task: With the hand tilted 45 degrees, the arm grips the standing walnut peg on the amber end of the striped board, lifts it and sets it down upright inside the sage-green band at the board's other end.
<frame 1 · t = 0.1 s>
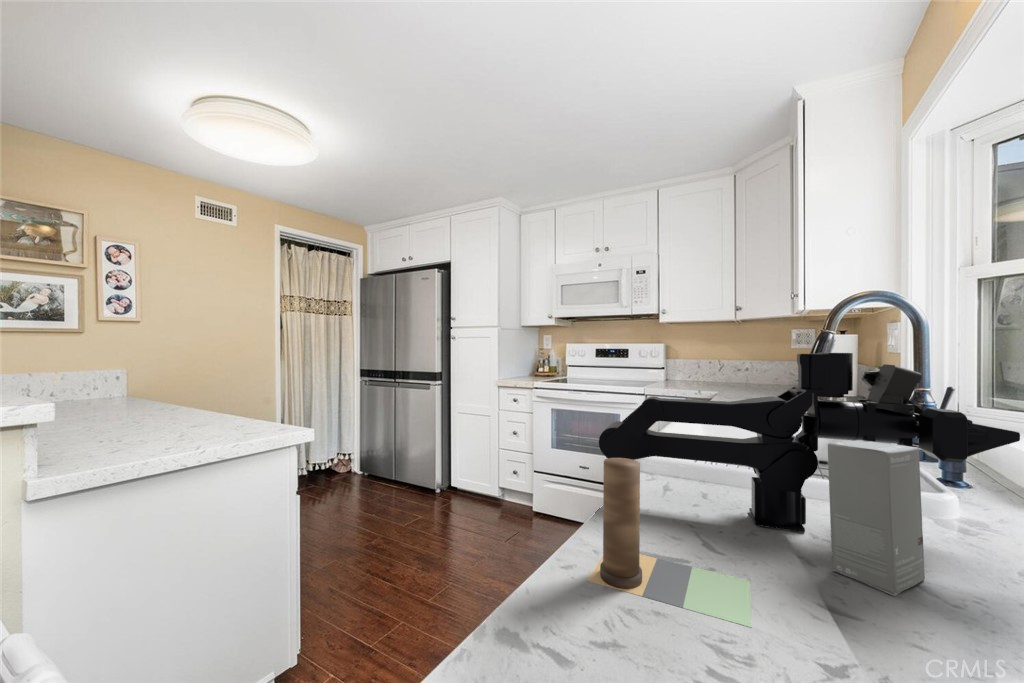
hand: (993, 429, 57), 17 cm above the counter, tool horizontal, fingers open, 9 cm apart
walnut peg: (620, 577, 48), point 1 cm above the counter, touching striped board
striped board: (668, 591, 47), on the counter
skincare box: (874, 575, 51), on the counter
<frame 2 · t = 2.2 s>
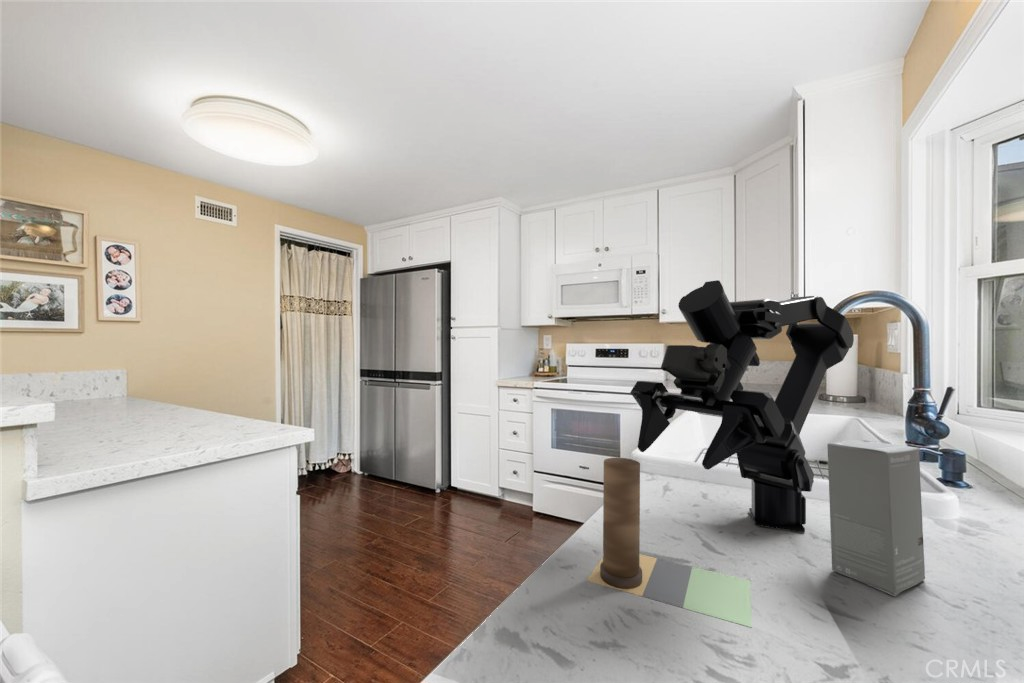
hand: (670, 457, 52), 14 cm above the counter, tool tilted 45°, fingers open, 9 cm apart
nothing on the counter moved.
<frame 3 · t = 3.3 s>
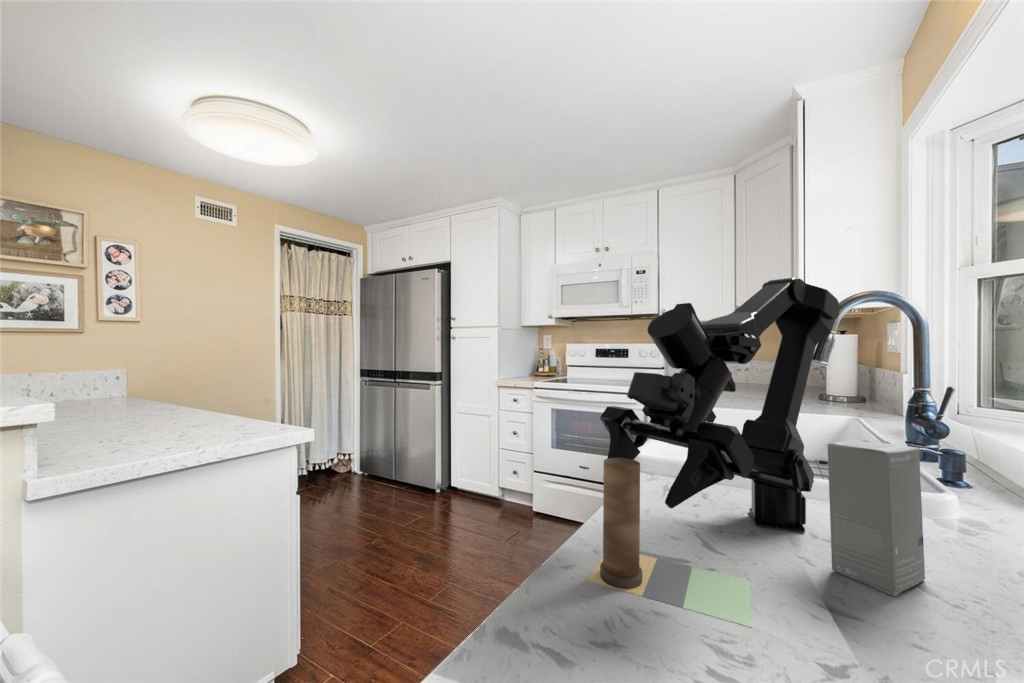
hand: (634, 492, 49), 10 cm above the counter, tool tilted 45°, fingers open, 9 cm apart
nothing on the counter moved.
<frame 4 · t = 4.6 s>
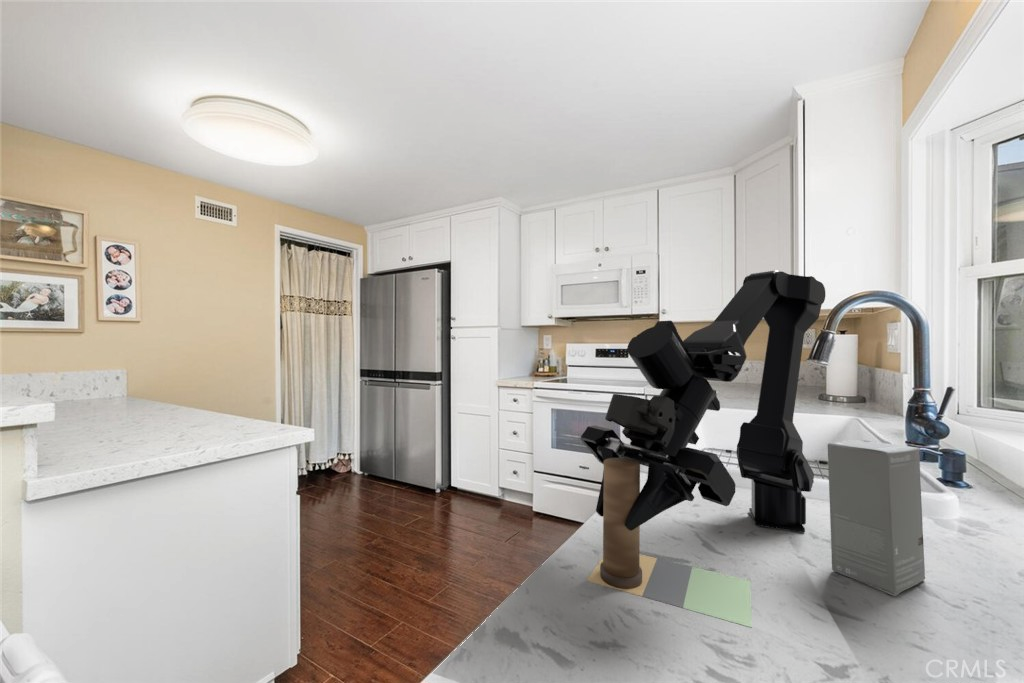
hand: (612, 520, 47), 8 cm above the counter, tool tilted 45°, fingers closed on walnut peg, 4 cm apart
walnut peg: (620, 577, 48), point 1 cm above the counter, touching gripper, striped board
everything else where it was.
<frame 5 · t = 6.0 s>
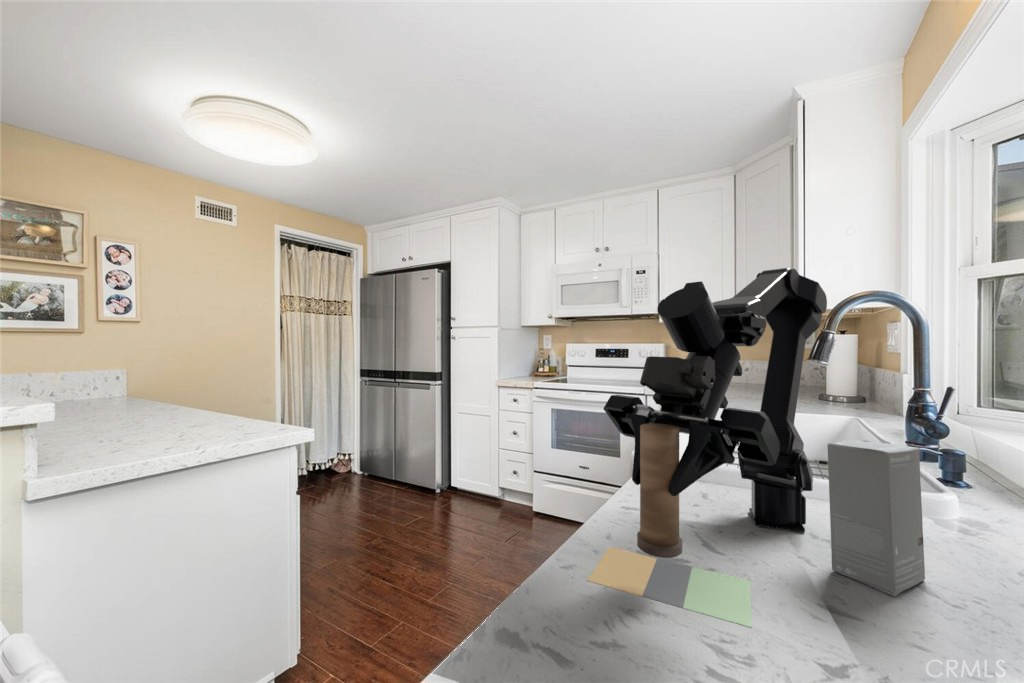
hand: (652, 488, 45), 12 cm above the counter, tool tilted 45°, fingers closed on walnut peg, 4 cm apart
walnut peg: (659, 546, 46), point 6 cm above the counter, touching gripper
everything else where it was.
when the fingers open (8 cm above the counter, at t = 7.5 s): walnut peg stays where it is, resting on striped board.
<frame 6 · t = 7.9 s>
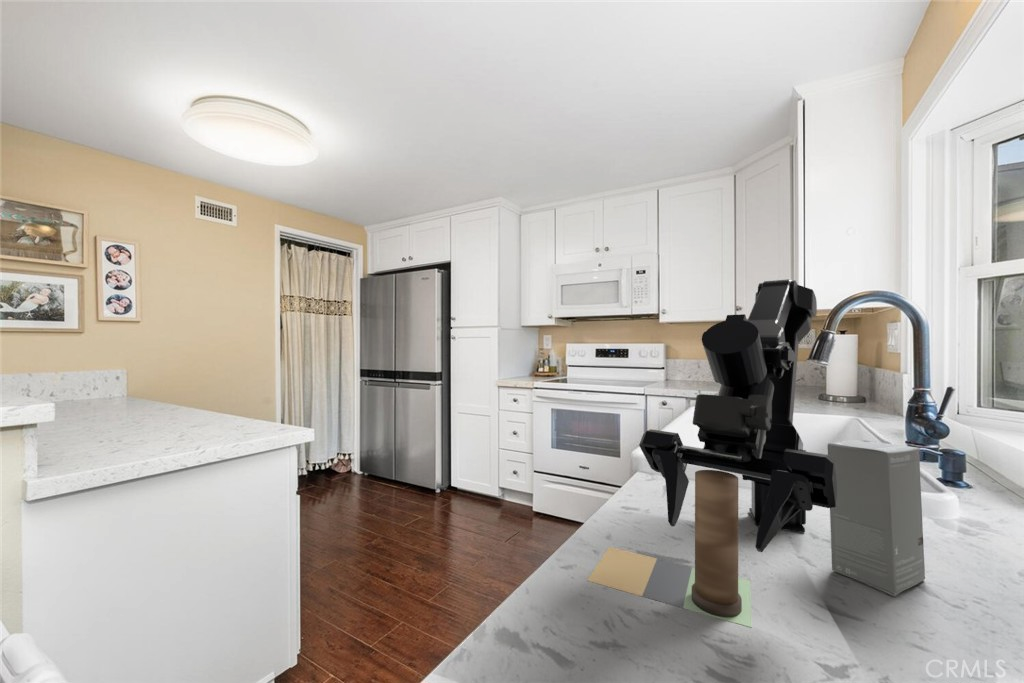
hand: (712, 536, 42), 8 cm above the counter, tool tilted 45°, fingers open, 8 cm apart
walnut peg: (716, 602, 43), point 1 cm above the counter, touching striped board
everything else where it was.
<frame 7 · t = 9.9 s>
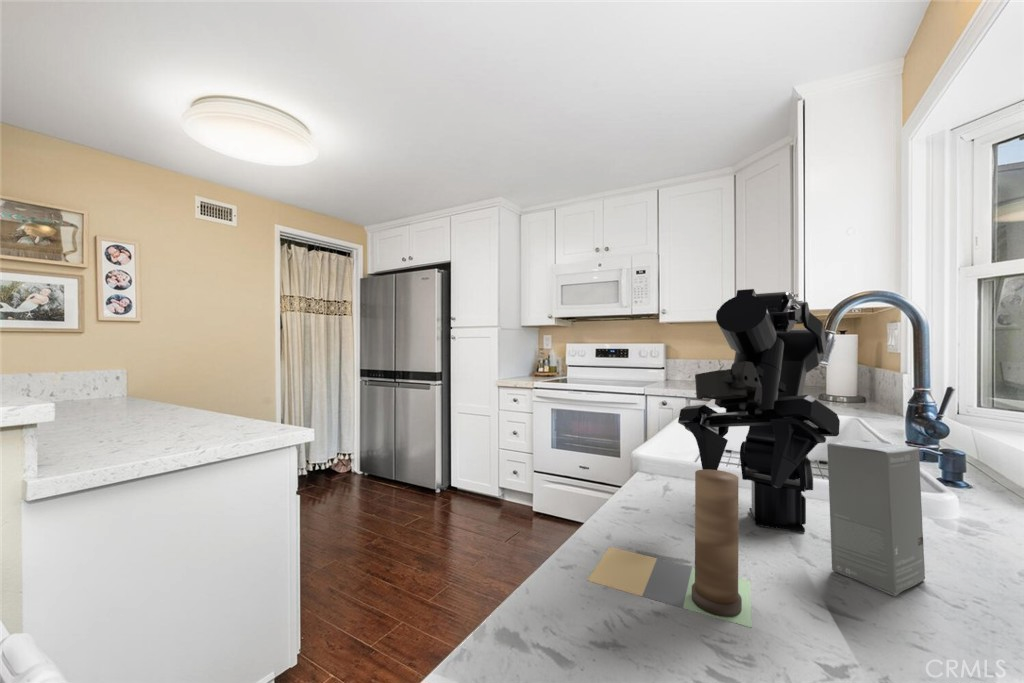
hand: (739, 483, 52), 11 cm above the counter, tool tilted 30°, fingers open, 9 cm apart
nothing on the counter moved.
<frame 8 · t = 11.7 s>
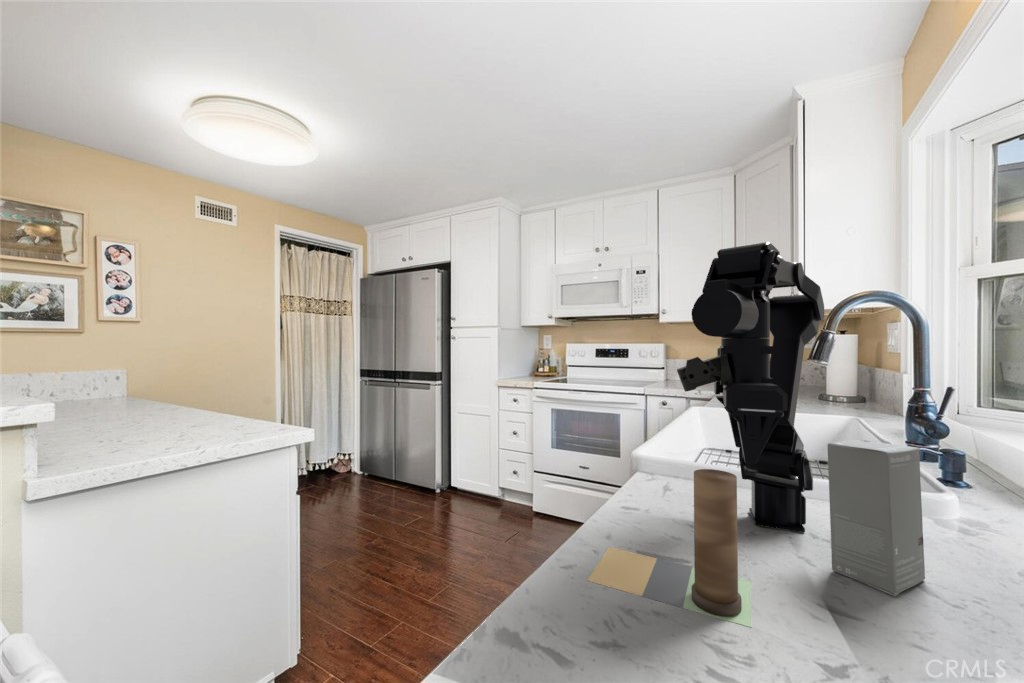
hand: (744, 454, 56), 13 cm above the counter, tool pointing down, fingers open, 9 cm apart
nothing on the counter moved.
at the end: walnut peg inside the target area (0.0 cm from its centre), point 1.2 cm above the counter; walnut peg tilted 1°; the gripper is holding nothing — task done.
